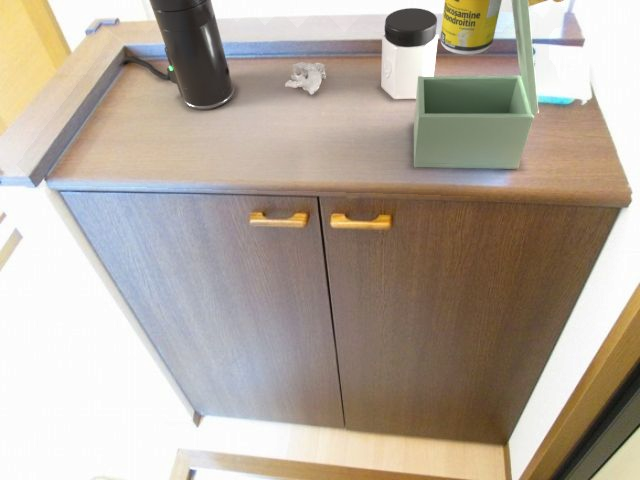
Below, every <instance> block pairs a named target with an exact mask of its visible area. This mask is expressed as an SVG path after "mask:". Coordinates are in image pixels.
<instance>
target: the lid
mask: <svg viewBox="0 0 640 480" xmlns="http://www.w3.org/2000/svg"><path fill="white" fill-rule="evenodd" d="M552 1H553V2H554V3H561V2H563V1H564V0H552ZM544 2H548V0H511V8H512V9H511V10H512V16H513V25H514V34H515V41H516V43H515V44H516V51H517V59H518V68H519V75H521V78H522V82H523V85H524V89H525V92H526V96H527V100H528V103H529V107H530V110H531V114H532V115H537V114H539V104H538V92H537V81H536V71H535V61H534V59H535V58H534V49H533V38H532V27H531V17H530V15H531V14H530V7H531V6H535V5H538V4H541V3H544Z"/></svg>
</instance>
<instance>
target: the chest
mask: <svg viewBox="0 0 640 480" xmlns="http://www.w3.org/2000/svg"><path fill="white" fill-rule="evenodd" d="M534 119H535V114H533V115H532V114H531V110H530V107H529V103H528V100H527V96H526V92H525V89H524V85H523V82H522V78H521V75H520V74H518V75H515V74H513V75H505V74H504V75H434V76H418V82H417V94H416V99H415V107H414V117H413V167H414V168H439V169H441V168H443V169H445V168H446V169H497V170H498V169H502V170H503V169H504V170H518V169H519V166H520V163H521V160H522V157H523V153H524V150H525V148H526V145H527V140H528V138H529V134H530V131H531V129H532V125H533V122H534Z"/></svg>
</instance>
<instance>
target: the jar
mask: <svg viewBox="0 0 640 480" xmlns="http://www.w3.org/2000/svg"><path fill="white" fill-rule="evenodd" d="M437 24H438V17H437V16H436V15H435V13H433V12H432V11H430V10H428V9H423V8H417V7H416V8H415V7H408V8H407V7H406V8H401V9H398V10H395V11H392V12H391V13H389V14H388V15H387V16H386V18H385V21H384V35H382V37H381V74H380V75H381V76H380V77H381V80H380V81H381V83H380V87H381V89H382V90H384V91H385V93H386V94H388V95H389V96H390V97H391V98H392V99H393V100H416V94H417V82H418V76H435V66H436V60H437V59H436V57H437V49H438V40H439V33H437V27H438V25H437Z"/></svg>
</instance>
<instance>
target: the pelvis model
mask: <svg viewBox="0 0 640 480" xmlns="http://www.w3.org/2000/svg"><path fill="white" fill-rule="evenodd" d="M325 68H326V65H325V64H323V63H321V62H317V61H316V62H315V63H311V62H307V63H306V62H304V61H300V62H298V63H293V64H292V72H293V74H291V75H290V78H291V79H292V80H291V79H288V80H287V81H286V82H285V83H284V86H285V87H286V88H294V89H296V88H302V89H303V90H304V91H307V92H308V93H309V95H312V96H313V95H314V94H315V93H316V92H317V91H318V90H319V88H320V86H321V85H322V80H327V73H326V70H325ZM297 72H300V73H299V75H298V73H297ZM306 77H307V78H306Z"/></svg>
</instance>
